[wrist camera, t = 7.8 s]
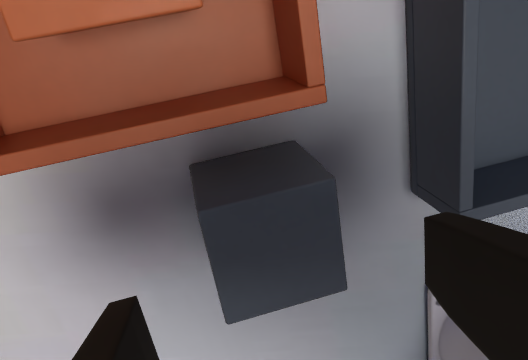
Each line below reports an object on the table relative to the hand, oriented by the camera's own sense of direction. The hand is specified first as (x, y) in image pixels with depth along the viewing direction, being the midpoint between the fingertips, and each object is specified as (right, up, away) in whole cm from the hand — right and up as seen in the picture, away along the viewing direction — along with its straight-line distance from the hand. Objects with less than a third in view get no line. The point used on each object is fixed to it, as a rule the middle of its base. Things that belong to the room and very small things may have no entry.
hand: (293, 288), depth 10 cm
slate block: (-1, +2, +8) cm, 8 cm away
